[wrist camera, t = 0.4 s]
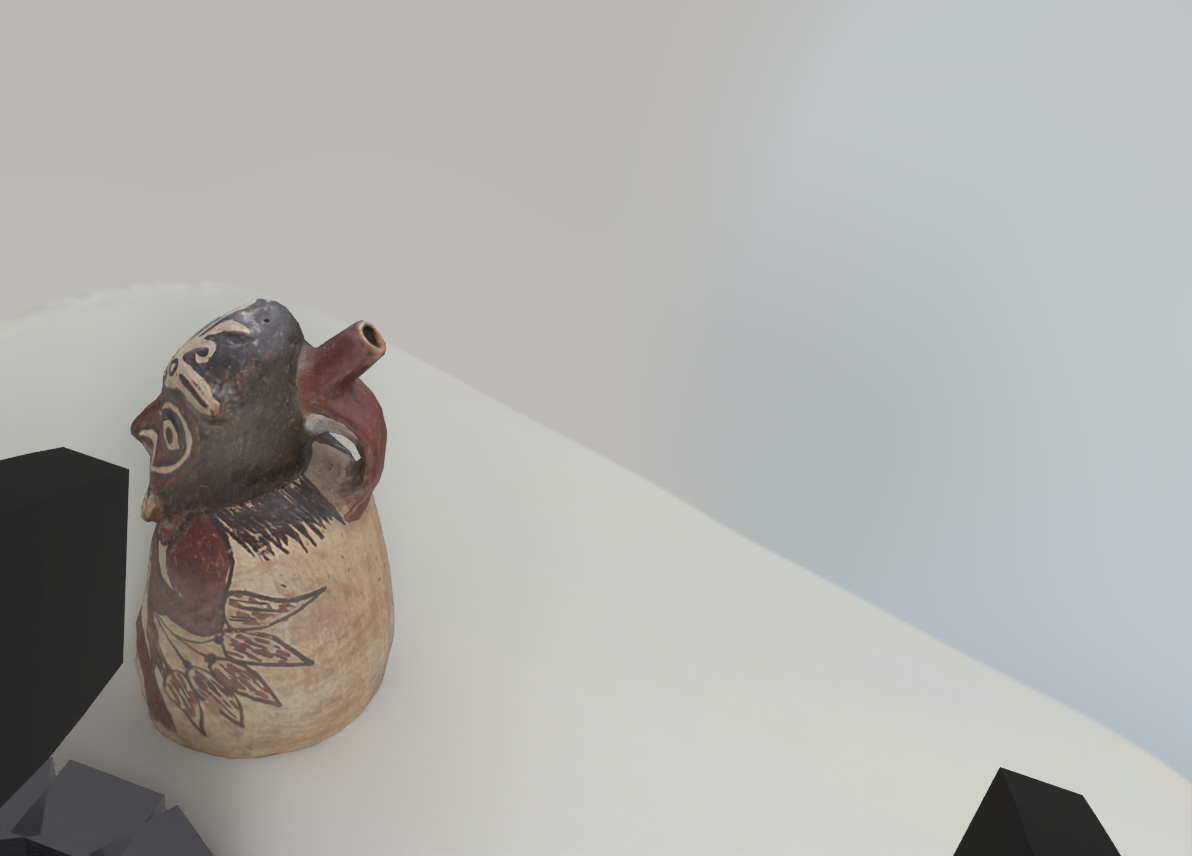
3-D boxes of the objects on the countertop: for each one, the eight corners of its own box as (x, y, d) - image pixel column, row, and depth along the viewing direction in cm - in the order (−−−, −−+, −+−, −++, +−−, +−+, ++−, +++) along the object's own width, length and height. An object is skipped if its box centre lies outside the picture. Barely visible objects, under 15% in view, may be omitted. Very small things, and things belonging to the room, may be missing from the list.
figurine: (192, 555, 35) (173, 214, 28) (412, 596, 36) (450, 269, 29) (91, 737, 30) (38, 368, 23) (356, 785, 30) (384, 434, 23)
